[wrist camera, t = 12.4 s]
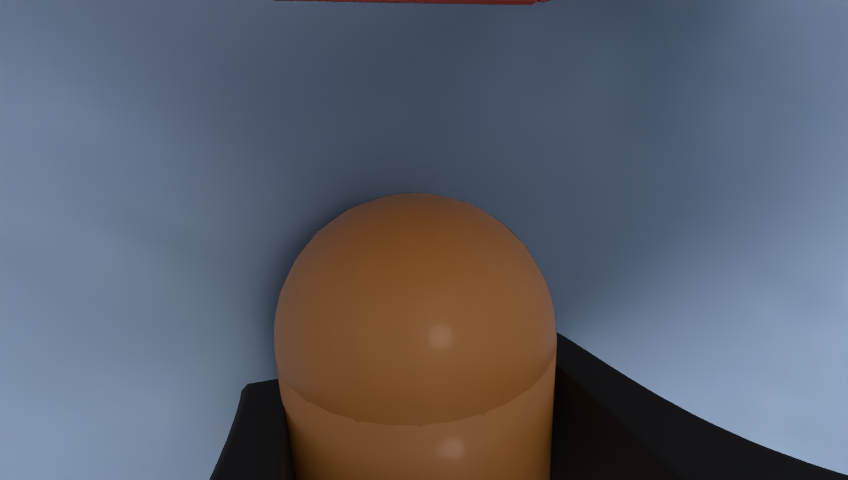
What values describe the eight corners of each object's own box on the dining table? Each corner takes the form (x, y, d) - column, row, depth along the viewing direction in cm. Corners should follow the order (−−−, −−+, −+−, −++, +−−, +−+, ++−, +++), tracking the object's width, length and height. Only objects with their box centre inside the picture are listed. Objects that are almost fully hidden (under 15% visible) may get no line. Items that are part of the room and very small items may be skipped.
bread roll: (499, 493, 17) (581, 676, 13) (305, 534, 16) (330, 744, 12) (503, 141, 13) (619, 249, 9) (250, 170, 12) (260, 304, 8)
